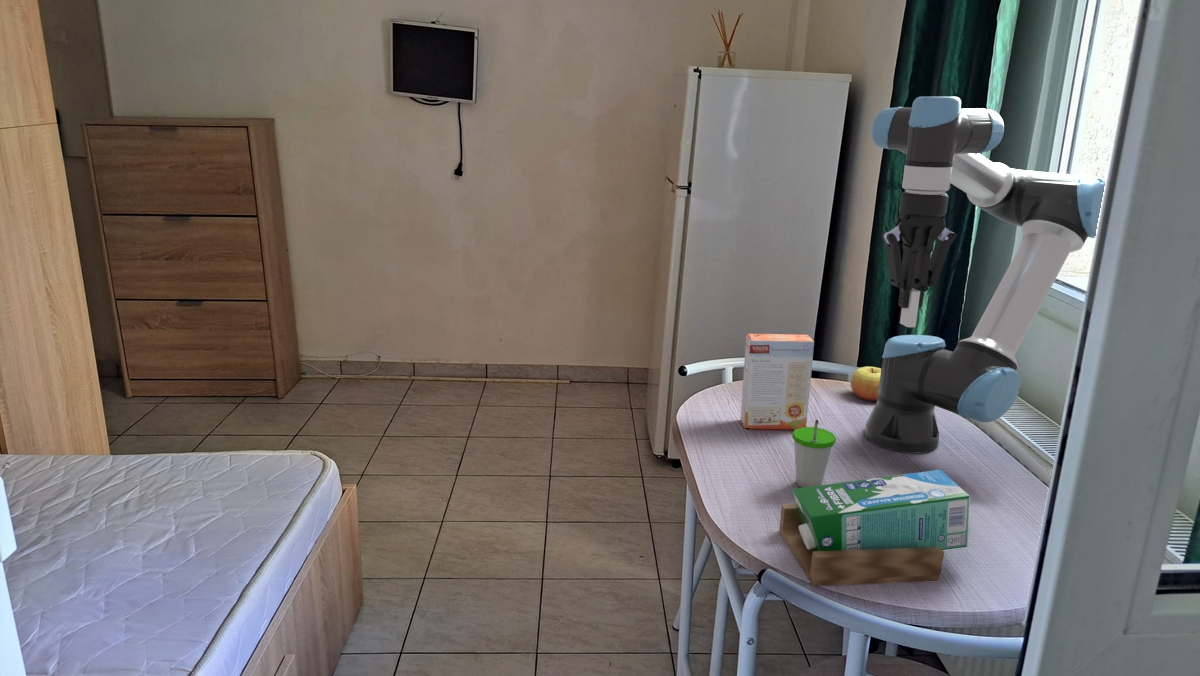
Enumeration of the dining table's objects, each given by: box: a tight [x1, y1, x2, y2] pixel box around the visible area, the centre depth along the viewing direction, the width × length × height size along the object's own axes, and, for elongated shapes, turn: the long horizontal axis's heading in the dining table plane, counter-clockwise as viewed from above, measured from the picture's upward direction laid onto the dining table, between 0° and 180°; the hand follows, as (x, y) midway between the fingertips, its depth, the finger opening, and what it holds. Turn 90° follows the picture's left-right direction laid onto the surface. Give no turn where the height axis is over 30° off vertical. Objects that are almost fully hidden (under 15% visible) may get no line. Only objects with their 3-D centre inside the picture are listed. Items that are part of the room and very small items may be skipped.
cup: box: [791, 419, 837, 488], centre depth 147 cm, size 8×8×15 cm
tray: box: [778, 503, 946, 587], centre depth 125 cm, size 20×16×5 cm
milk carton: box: [791, 469, 971, 551], centre depth 124 cm, size 9×9×25 cm
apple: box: [850, 366, 881, 402], centre depth 194 cm, size 10×10×8 cm
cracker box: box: [740, 333, 815, 430], centre depth 174 cm, size 14×6×21 cm, turn 89°
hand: (907, 325), depth 139 cm, fingers closed
